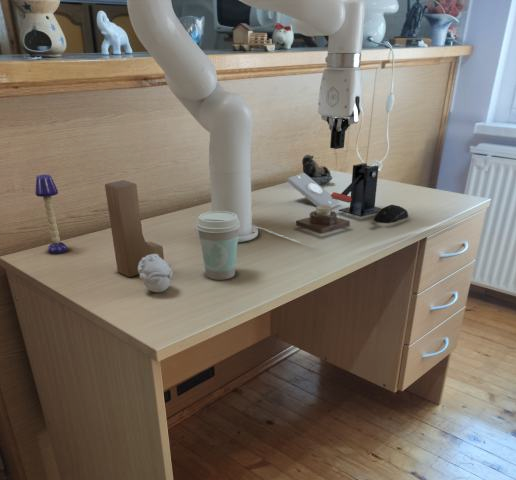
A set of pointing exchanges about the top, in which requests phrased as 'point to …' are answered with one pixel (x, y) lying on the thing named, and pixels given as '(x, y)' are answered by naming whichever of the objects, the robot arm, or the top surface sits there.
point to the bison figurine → (316, 170)
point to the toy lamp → (50, 210)
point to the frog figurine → (155, 273)
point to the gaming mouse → (391, 214)
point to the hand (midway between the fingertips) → (337, 147)
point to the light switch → (311, 190)
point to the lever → (349, 187)
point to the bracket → (363, 192)
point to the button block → (322, 223)
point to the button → (323, 210)
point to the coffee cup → (219, 243)
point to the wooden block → (127, 227)
